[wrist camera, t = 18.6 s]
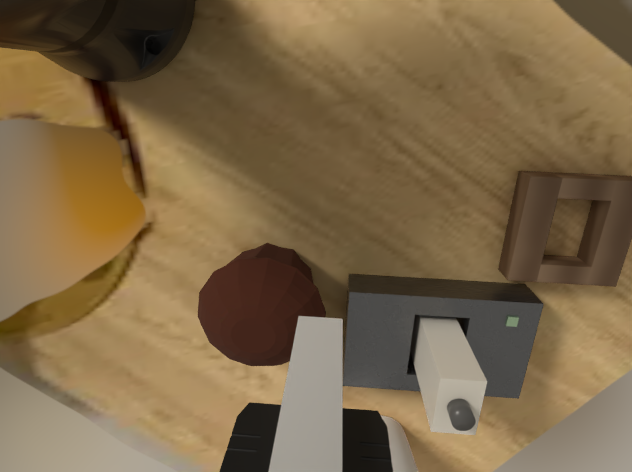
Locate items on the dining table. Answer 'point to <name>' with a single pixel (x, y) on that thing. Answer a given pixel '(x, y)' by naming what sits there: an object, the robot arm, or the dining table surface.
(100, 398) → the dining table surface
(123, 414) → the dining table surface
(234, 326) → the muffin
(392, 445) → the foam cup
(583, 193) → the brown wooden square frame
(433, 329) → the plug
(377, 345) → the switch box
